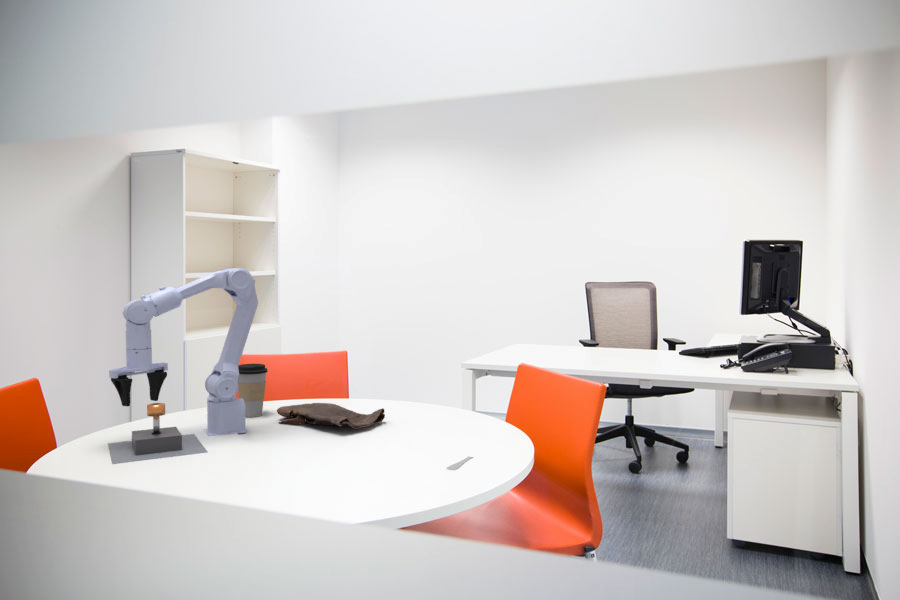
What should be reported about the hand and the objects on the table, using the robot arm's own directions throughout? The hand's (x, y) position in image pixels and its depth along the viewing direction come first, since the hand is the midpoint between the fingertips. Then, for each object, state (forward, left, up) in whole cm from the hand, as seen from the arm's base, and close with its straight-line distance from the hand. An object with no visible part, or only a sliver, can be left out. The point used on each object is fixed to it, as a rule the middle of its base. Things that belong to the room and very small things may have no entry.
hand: (140, 403), depth 163 cm
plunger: (-3, +8, -7) cm, 11 cm away
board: (-3, +8, -10) cm, 13 cm away
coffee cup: (-32, -20, -10) cm, 39 cm away
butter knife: (-66, +50, -11) cm, 83 cm away
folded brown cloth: (-49, 0, -11) cm, 50 cm away
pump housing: (-3, +8, -10) cm, 13 cm away
